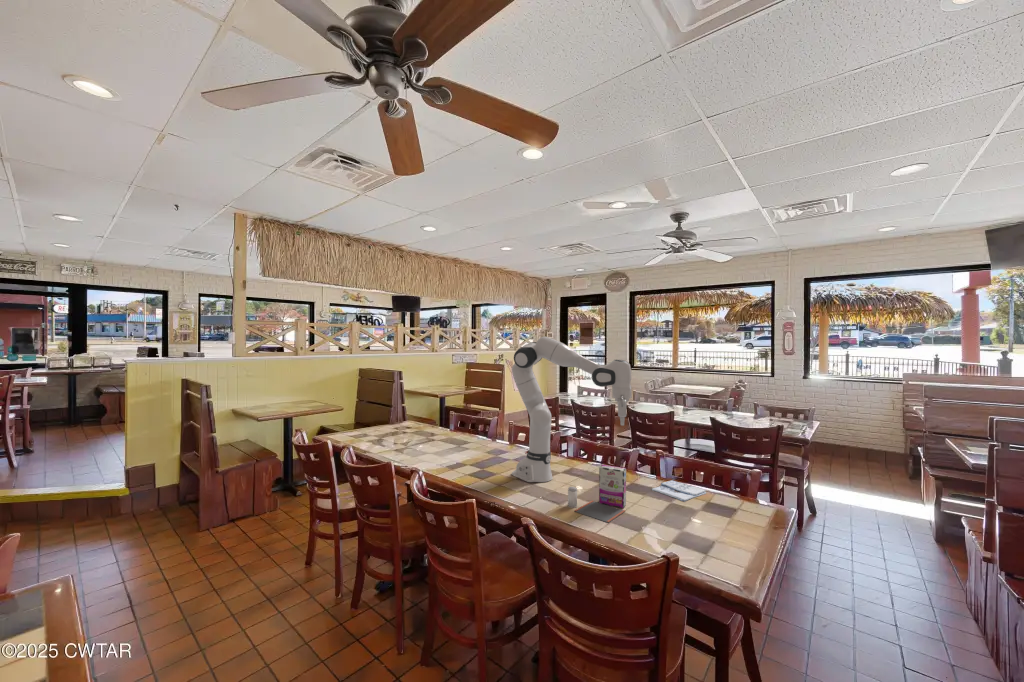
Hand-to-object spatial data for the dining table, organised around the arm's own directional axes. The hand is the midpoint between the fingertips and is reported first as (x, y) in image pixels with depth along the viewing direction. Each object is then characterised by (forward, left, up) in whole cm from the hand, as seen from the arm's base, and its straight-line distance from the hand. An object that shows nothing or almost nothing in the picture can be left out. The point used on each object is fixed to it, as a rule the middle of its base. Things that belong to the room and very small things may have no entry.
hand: (622, 423), depth 191 cm
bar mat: (+2, -23, -34) cm, 41 cm away
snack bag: (+18, +25, -35) cm, 46 cm away
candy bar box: (+2, -12, -35) cm, 37 cm away
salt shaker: (-10, -26, -34) cm, 44 cm away
